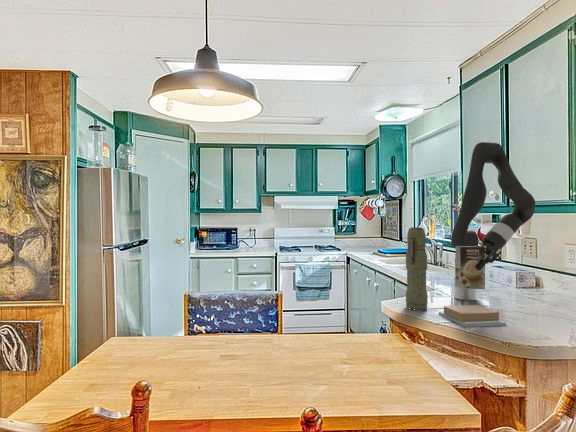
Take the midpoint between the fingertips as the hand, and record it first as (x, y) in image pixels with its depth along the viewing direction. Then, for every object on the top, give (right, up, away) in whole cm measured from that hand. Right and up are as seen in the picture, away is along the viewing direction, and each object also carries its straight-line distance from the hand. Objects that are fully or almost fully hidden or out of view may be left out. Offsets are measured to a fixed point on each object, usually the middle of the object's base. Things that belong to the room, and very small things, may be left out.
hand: (470, 267), depth 145 cm
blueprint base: (0, -20, 0) cm, 20 cm away
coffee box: (0, -8, 0) cm, 8 cm away
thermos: (-15, -20, +18) cm, 31 cm away
